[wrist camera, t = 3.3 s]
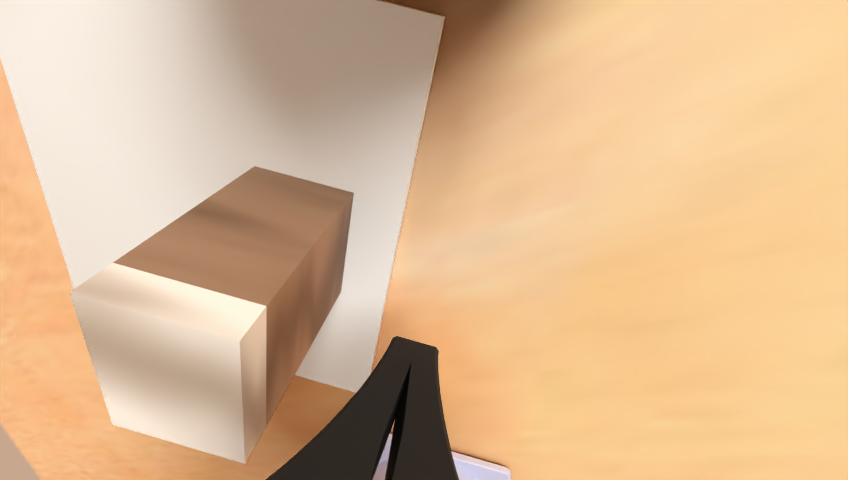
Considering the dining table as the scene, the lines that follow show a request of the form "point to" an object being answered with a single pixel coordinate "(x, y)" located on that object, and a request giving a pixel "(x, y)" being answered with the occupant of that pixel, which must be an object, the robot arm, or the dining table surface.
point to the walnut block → (217, 311)
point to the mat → (225, 125)
